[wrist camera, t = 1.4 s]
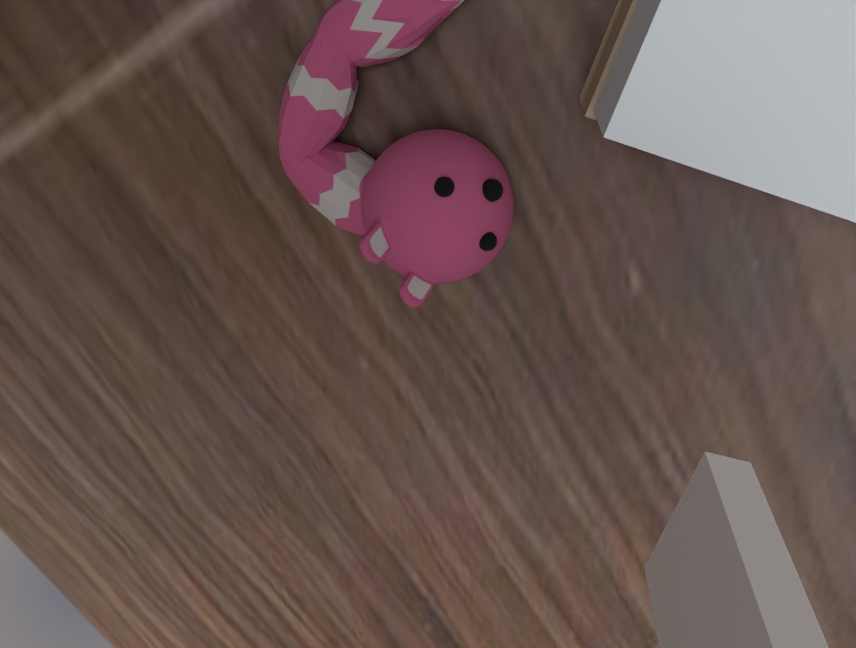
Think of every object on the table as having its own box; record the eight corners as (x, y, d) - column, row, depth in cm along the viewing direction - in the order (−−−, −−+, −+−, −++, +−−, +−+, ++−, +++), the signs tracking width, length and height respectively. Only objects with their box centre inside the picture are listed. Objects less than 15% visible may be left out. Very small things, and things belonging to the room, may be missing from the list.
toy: (602, 151, 32) (501, 327, 27) (459, 197, 38) (358, 344, 34) (444, -91, 27) (286, 70, 22) (313, 11, 34) (169, 151, 29)
